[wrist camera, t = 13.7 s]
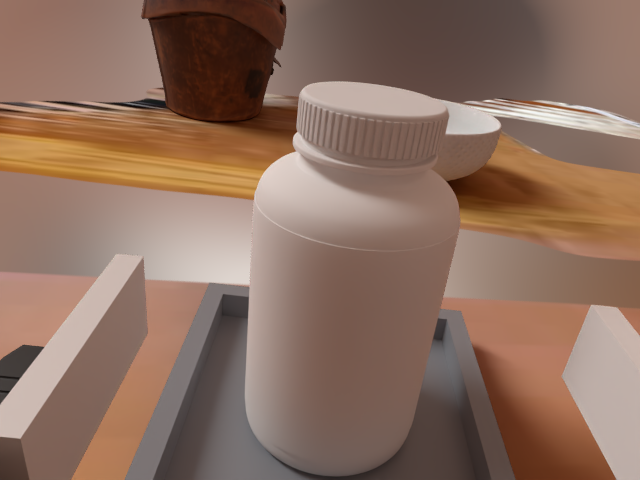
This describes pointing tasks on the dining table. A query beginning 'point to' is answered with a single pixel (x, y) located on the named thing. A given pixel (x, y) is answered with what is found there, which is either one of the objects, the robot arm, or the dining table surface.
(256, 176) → the dining table surface
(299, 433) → the pill bottle
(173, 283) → the dining table surface
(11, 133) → the dining table surface
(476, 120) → the cereal bowl
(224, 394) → the tray
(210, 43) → the brown plant pot
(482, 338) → the dining table surface
